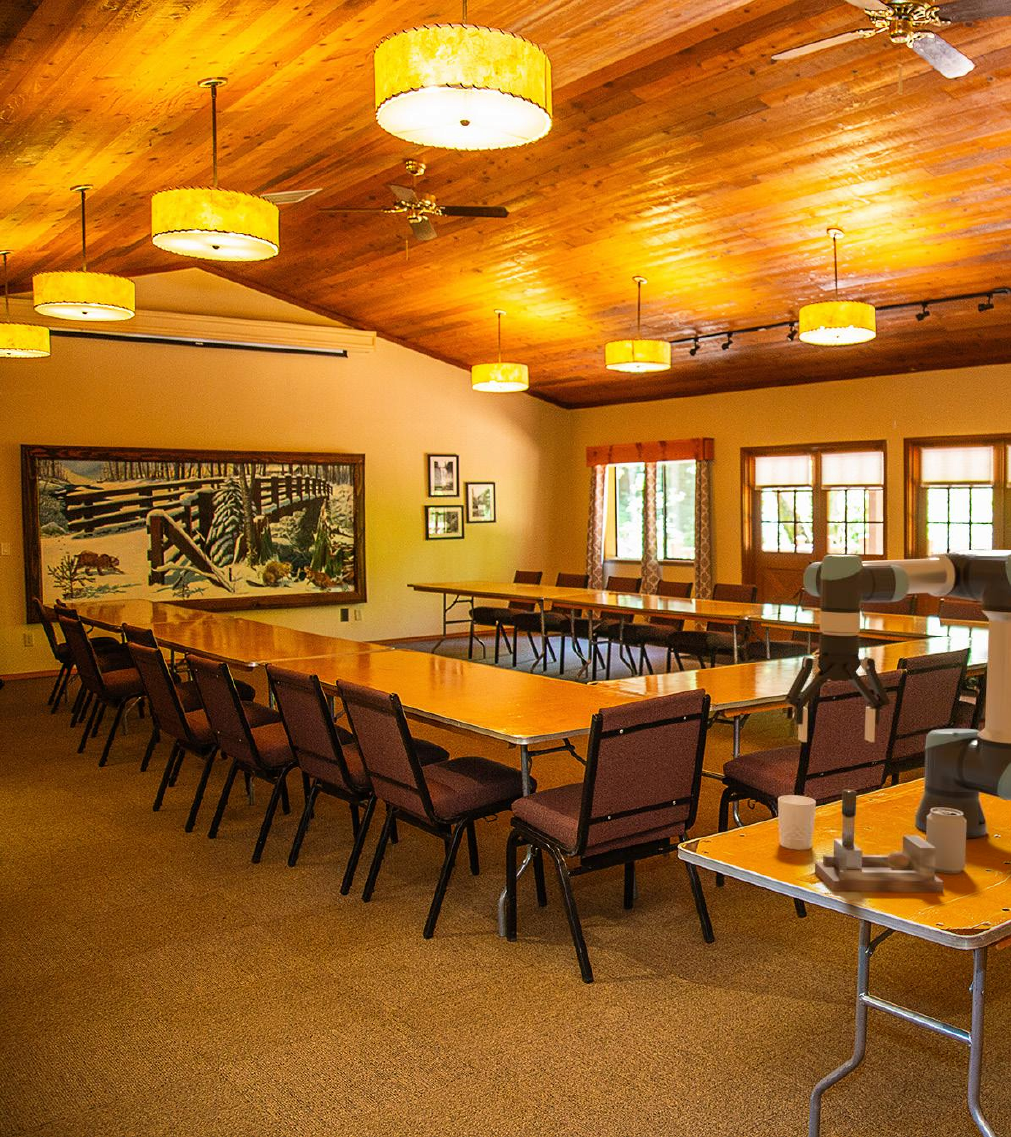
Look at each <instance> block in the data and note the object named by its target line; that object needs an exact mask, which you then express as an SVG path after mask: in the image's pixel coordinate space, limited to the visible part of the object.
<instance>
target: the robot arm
mask: <svg viewBox="0 0 1011 1137" xmlns="http://www.w3.org/2000/svg"><path fill="white" fill-rule="evenodd" d="M802 579H803V582H802V583H803V586H804V588H805V591H806V592H807V593H808V594H809V595H811V596H813V597H818V598H820V611H819V612H820V613H819V630H820V631H821V632H822V633H820V634H819V636H818V638H819V639H818V657H817V658H813V657H812V658H811V657H809V656H804V657H803V658H802V661H801V668H800V669H799V672H798V674H797V675H796V678H795V680H794V681H793V683H792V684H791V687H790V689H789V691H788V693H787V695H786V696H785V698H784V702H785V703H786V704H789V705H790V706H793V708H794V713H793V714H794V715H793V716H794V718H793V721H794V724H797V725H798V726H797V727H798V731H797V732H798V733H797V734H798V735H797V740H798V741H801V742H802V743H807V742H808V720H809V719H808V717H809V716H808V714H809V712H808V711H809V709H808V708H807V707H805V706H806V705H807V704H808V703H809V702H810V700H811V699H812V698H813V696H815V695H816V694H817V692H818V691H819V690H820V689H821V688H822V686H824V684H826V683H827V682H828V681H831V682H838V681H842V682H848V681H849V682H851V684H853V686H854V687H855V688H856V690H857V691H858V692H859V693H860V694H861V696H862V697H863V698H864V699H865V701H866V702H867V703H868V704H869V706H865V720H864V721H865V722H864V740H865V741H868V742H870V743H875V736H876V735H875V734H876V732H875V729H876V725H879V723H880V710H882V709H883V707H884V706H889V705H890V704H891V702H890V700H889V697H888V694H887V692H886V691H885V690H886V689H885V688H884V686H883V683H882V680H880V677H879V675H878V672H877V670H876V661H875V659H874V658H872V657H867V656H866V657H864V658H860V657H859V655H860V654H859V653H860V636H859V635H858V633H860V632H861V608H862V607H861V606H862V605H861V603H885V604H890V603H892V602H894V603H895V602H899V601H901V600H903V599H904V598H905V597H906V596H907V595H909V594H928V595H930V596H932V597H950V598H956V599H963V600H968V601H977V602H981V612H982V613H983V615H985V616H986V617H987V618H988V636H987V637H988V640H987V668H986V672H987V673H986V691H985V693H986V694H985V695H986V696H985V697H986V698H985V702H986V703H985V719H984V720H985V722H984V723H985V724H984V726H985V727H984V728H983V729H982V730H978V729H973V728H972V729H971V728H943V729H933V730H931V731H928V733H927V734H926V737H925V738H926V739H925V747H924V788H923V789H924V791H923V794H922V798H921V799H920V802H919V805H918V808H917V810H916V813H915V816H914V818H915V820H914V821H915V822H914V825H915V827H916V828H917V829H919V830H920V831H923V832H926V827H927V815H929V814H930V813H931V811H930V809H932V808H938V807H941V808H951V809H956V810H959V811H961V812H963V817H964V818H965V819H966V839H973V838H975V839H976V838H981V837H984V836H985V835H987V825H988V824H987V821H986V818H985V813H984V810H983V807H982V804H981V801H980V794H985V795H989V796H991V797H996V798H999V799H1001V800H1004V801H1011V549H1009V550H1008V549H983V548H981V549H978V548H977V549H968V550H967V549H966V550H961V551H960V550H959V551H952V552H945V553H944V552H943V553H933V554H931V555H929V556H927V557H926V558H919V559H918V558H916V559H915V558H914V559H911V558H910V559H891V560H890V559H888V560H885V559H884V560H864V561H863V558H862V557H861V556H860V555H854V554H827V555H825V556H824V557H823V558H822V561H817V562H816V561H815V562H812V563H811V564H809V565H808V566H807V568H806V569H805V570H804V573H803V578H802ZM816 666H817V667H818V668H819V671H818V672H817V673H816V674H815V676H814V678H813V679H812V680H811V682H810V683H809V684H808V685H807V687H805V685H806V683H807V681H808V679H809V677H810V675H811V674H812V670H814V669H815V668H816ZM860 667H861V668H862V669H863V670H864V673H865V674H866V677H867V679H868V681H869V683H870V685H871V688H872V690H873V692H874V694H875V695H874V694H873V692H871V690H870V689H869V688H868V687H867V685H866V684H865V682H863V680H862V677H861V676H860V675H859V674H858V672H857V671H858V670H859V668H860ZM804 687H805V689H804V690H803V688H804Z"/></svg>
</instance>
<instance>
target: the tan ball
mask: <svg viewBox="0 0 1011 1137" xmlns="http://www.w3.org/2000/svg"><path fill="white" fill-rule="evenodd" d="M888 855H889V856H888V859H887V863H888V866H889V867H890V869H892V870H901V871H905V870H906V869H907V868H908V866H909V859H908V857H907V856H906V855H905V854H904V853H903V851H901V850H900V851H899V850H895V851H892V852H890V853H889V854H888Z"/></svg>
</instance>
